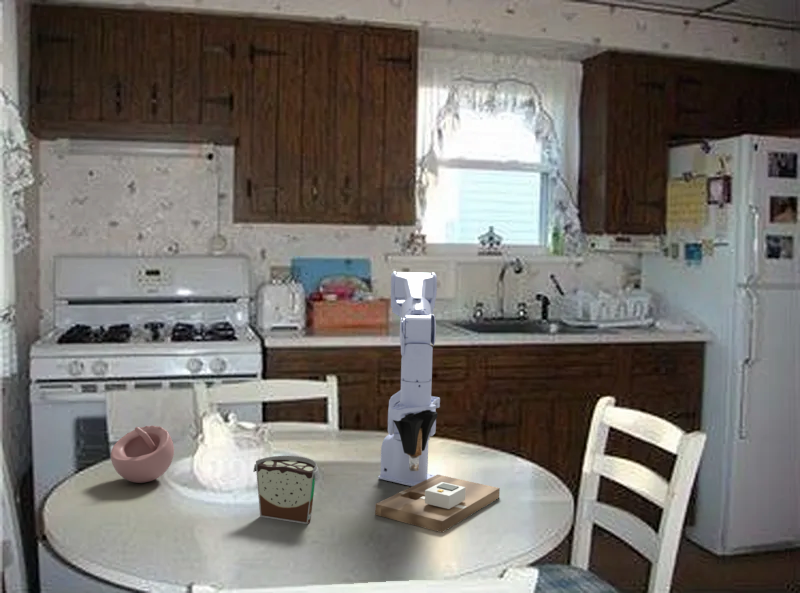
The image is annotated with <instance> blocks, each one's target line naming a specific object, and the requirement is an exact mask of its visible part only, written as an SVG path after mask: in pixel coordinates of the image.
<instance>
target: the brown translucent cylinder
mask: <svg viewBox="0 0 800 593" xmlns="http://www.w3.org/2000/svg"><path fill="white" fill-rule="evenodd" d="M422 429H423V428H422V427H420V430H419V434H418V440H417V448H416V453H415V454H414V455H410V454H407V455H409V470H410V471H418V470H419V456H420V455H422Z"/></svg>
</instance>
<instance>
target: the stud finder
mask: <svg viewBox="0 0 800 593" xmlns="http://www.w3.org/2000/svg"><path fill="white" fill-rule="evenodd" d="M465 490H466V487H462V486H458V485H454V484H449V483H445V482H441V483H439V484H437V485H435V486H433V487H431V488H429V489H427V490H425V503H426V504H430V505H434V506H438V507H442V508H446V509H450V508H452V507H454V506H455V505H457V504H459V503H461V502H462V501H464V500H465Z"/></svg>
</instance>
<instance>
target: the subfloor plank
mask: <svg viewBox="0 0 800 593" xmlns="http://www.w3.org/2000/svg"><path fill="white" fill-rule="evenodd" d="M441 482H445V483H449V484H454V485H458V486H462V487H466V490H465V500H464V501H462V502H461V503H459V504H457V505H455V506H454V507H452V508H450V509H446V508H442V507H438V506H434V505H430V504H426V503H425V490H427V489H429V488H431V487H433V486H435V485H437V484H439V483H441ZM498 498H499V499H500V487H496V486H492V485H487V484H483V483H478V482H474V481H470V480H465V479H459V478H455V477H451V476H446V475H441V474H435V476H433V477H431V478H429V479H427V480H425V481H423V482H421V483H419V484H416V485H414V486H409V487H408V488H405V489H404V490H400V491H399V492H397V493H395V494H393V495H391V496H389V497H387V498H385V499H383V500H381V501H378V502H376V503H375V512H374V515H376V516H379V517H382V518H386V519H388V520H389V519H390V520H393V521H397V522H402V523H405V524H409V525H412V526H416V527H420V528H422V529H423V528H424V529H428V530H431V531H434V532H435V531H436V532H439V533H444V532H445V530H446V531H447V530H448V528H449V529H450V528H452V527H454V526H456V525H457V524H459V523H460V522H462V521H464V520H465V519H467V518H469V517H470V516H472V515H474V514H475V513H477V512H479V511H480V510H482V509H483V507H484V508H486V507H487V506H488V504H489V505H490V504H492V503H493V501H494V502H495V501H497V500H499V499H498ZM496 499H497V500H496ZM491 502H492V503H491ZM481 508H482V509H481ZM478 510H479V511H478ZM476 511H477V512H476ZM473 513H474V514H473ZM471 514H472V515H471ZM468 516H469V517H468ZM463 519H464V520H463ZM453 525H454V526H453ZM443 531H444V532H443Z"/></svg>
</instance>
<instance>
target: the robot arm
mask: <svg viewBox="0 0 800 593" xmlns="http://www.w3.org/2000/svg"><path fill="white" fill-rule="evenodd" d="M437 288H438V276H437V274H436V272H434V271H432V272H412V271H411V272H410V271H408V272H407V271H396V270H393V271H392V272H391V273H390V308H391V312H392V313H393V314H395V315H396V316H397V317H399V320H400V321H399V343H400V355H401V360H400V361H401V362H400V366H401V368H400V390H398V391H397V392H396V393H394V394H392V396H390V399H388V410H387V433H388V434H387V435H386V436H385V437H384V439H383V441H382V444H381V447H380V475H378V477H377V478H378V480H384V481H388V482H391V483H392V482H393V483H396V484H400V485H405V486H408V487H412V486H414V485H416V484H419V483H421V482H423V481H425V480H427V479H429V478H431V477H433V476H435V475H436V474H435V475H434V474H429V473H428V470H429V469H428V467H429V465H428V464H429V441H430V438H431V437H433V436H434V435H435V434H436V430H437V418H438V412H437V411H436V409H439V408H441V404H440V403H441V398H440V397H438V396H433V395H432V385H433V384H432V381H433V380H432V378H433V351H434V350H433V348H434V346H435V344H436V338H437V321H436V316H435V314H433V313H434V309H435V306H436V299H437V291H438V289H437ZM420 427H422V428H423V429H422V455H420V456H419V470H418V471H410V470H409V455H407V454H410V455H414V454H415V453H416V448H417V440H418V434H419V430H420Z"/></svg>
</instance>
